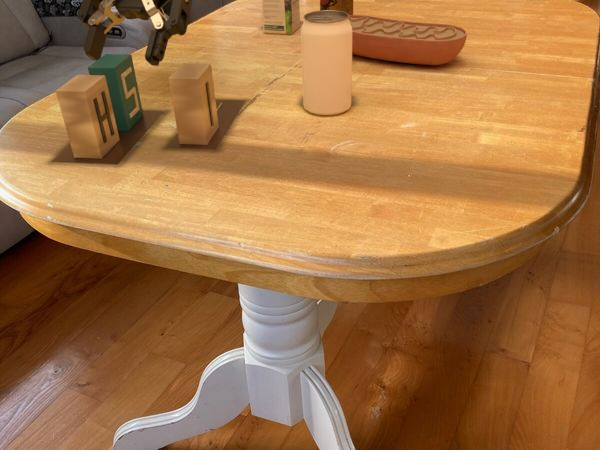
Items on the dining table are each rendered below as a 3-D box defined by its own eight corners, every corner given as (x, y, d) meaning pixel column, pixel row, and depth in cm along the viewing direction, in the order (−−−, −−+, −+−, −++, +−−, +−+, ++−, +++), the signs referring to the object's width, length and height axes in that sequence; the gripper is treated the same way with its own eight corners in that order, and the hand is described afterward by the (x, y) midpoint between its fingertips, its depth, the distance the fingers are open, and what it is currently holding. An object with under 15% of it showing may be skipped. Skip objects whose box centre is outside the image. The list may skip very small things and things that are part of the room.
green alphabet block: (102, 130, 72) (87, 67, 68) (119, 114, 77) (105, 53, 72) (129, 131, 72) (115, 67, 67) (144, 115, 76) (132, 54, 72)
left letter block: (53, 169, 66) (30, 93, 61) (109, 116, 79) (93, 49, 74) (119, 172, 65) (101, 95, 60) (165, 118, 77) (153, 50, 72)
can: (344, 119, 75) (344, 24, 68) (296, 114, 77) (292, 21, 70) (356, 101, 80) (358, 10, 73) (311, 96, 82) (309, 8, 75)
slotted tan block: (167, 155, 68) (153, 80, 63) (204, 105, 81) (195, 40, 76) (216, 157, 67) (207, 81, 62) (246, 107, 80) (240, 40, 75)
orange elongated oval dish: (470, 59, 93) (475, 27, 90) (449, 79, 86) (453, 44, 83) (342, 41, 103) (343, 12, 100) (314, 58, 96) (314, 27, 93)
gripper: (88, -78, 73) (53, 41, 70) (190, -78, 69) (156, 49, 66) (121, -39, 80) (90, 70, 77) (214, -37, 76) (185, 78, 73)
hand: (121, 60), depth 72 cm, fingers open, 8 cm apart
